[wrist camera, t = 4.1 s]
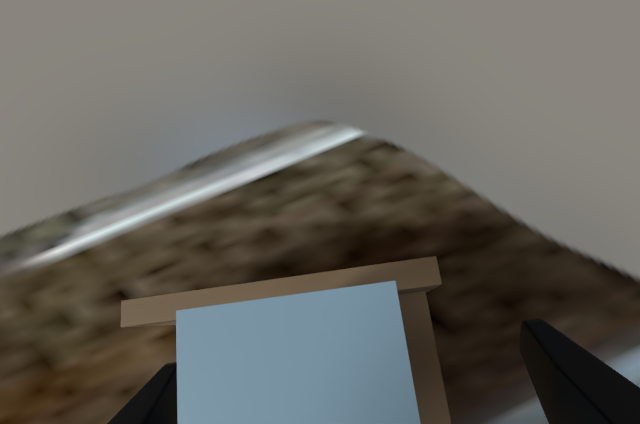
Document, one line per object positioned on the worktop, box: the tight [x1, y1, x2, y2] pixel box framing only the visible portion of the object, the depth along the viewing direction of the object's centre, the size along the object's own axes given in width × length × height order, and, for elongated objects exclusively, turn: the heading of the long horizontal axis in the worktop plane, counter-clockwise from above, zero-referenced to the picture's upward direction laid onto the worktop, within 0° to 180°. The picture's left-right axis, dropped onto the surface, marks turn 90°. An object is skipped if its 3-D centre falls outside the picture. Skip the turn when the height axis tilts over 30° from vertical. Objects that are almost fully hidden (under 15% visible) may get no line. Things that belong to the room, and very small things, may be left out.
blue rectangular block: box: [176, 281, 420, 424], centre depth 9 cm, size 5×2×12 cm, turn 7°
